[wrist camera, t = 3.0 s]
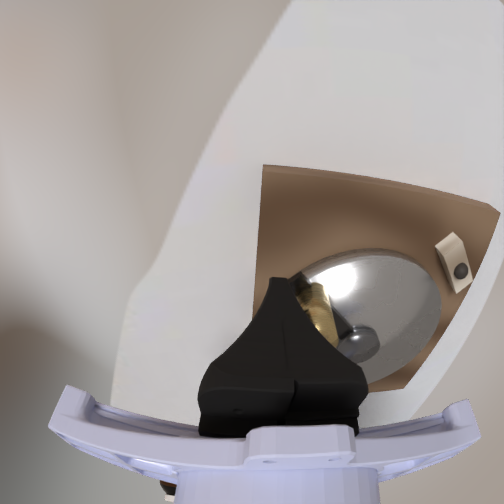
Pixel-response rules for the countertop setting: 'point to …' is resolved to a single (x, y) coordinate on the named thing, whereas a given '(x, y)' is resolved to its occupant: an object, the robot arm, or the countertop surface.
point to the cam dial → (371, 306)
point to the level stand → (371, 234)
